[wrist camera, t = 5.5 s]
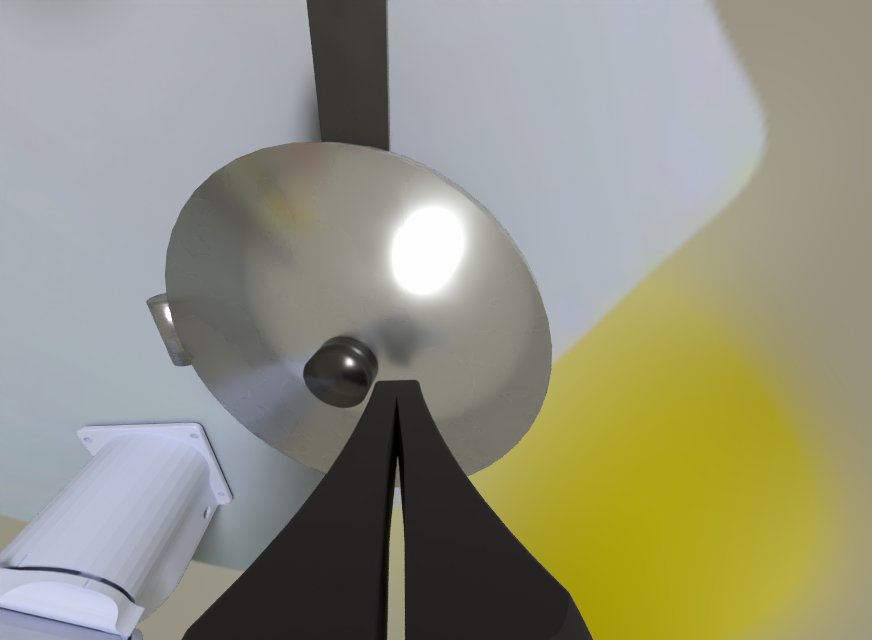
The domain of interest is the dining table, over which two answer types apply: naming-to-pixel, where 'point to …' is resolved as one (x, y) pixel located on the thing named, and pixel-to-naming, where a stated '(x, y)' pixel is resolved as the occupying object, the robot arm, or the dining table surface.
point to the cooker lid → (353, 301)
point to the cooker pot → (351, 70)
